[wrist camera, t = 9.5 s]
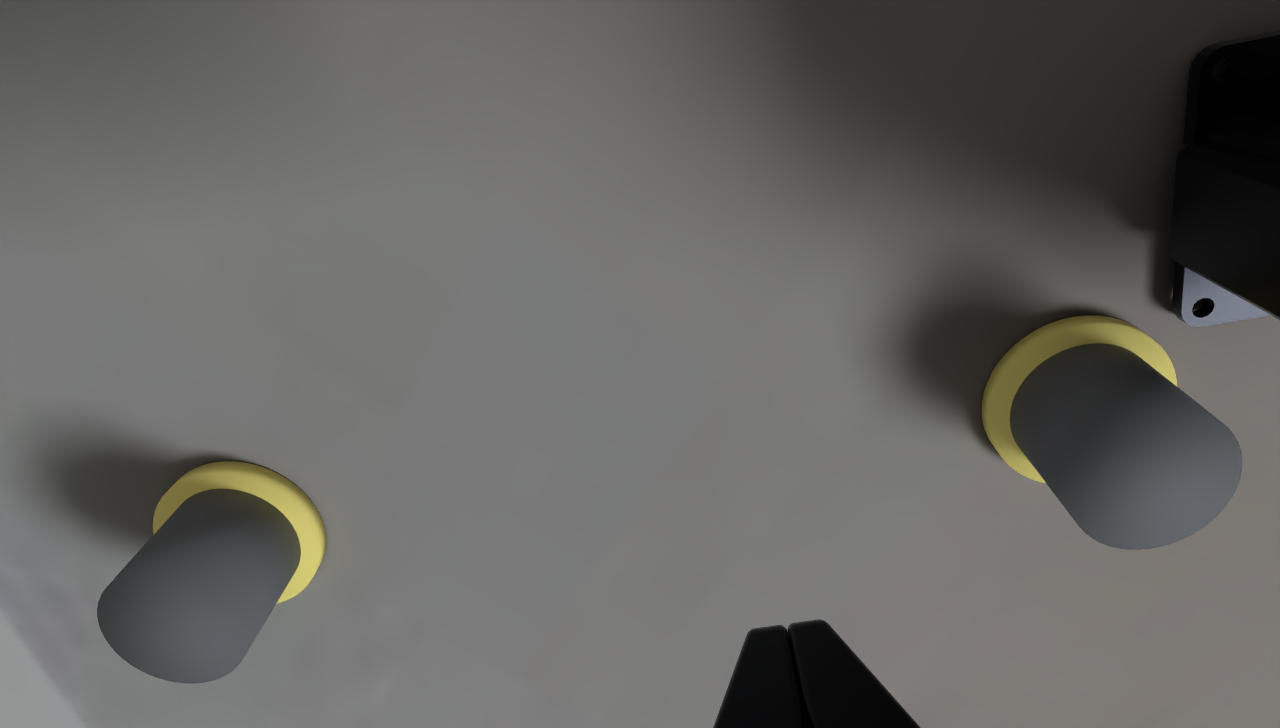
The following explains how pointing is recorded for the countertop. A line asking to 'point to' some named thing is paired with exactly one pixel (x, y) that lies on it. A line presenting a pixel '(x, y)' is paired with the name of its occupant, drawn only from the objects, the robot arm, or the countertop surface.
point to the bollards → (1012, 417)
